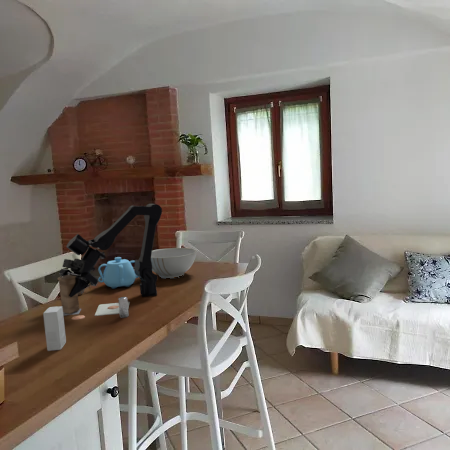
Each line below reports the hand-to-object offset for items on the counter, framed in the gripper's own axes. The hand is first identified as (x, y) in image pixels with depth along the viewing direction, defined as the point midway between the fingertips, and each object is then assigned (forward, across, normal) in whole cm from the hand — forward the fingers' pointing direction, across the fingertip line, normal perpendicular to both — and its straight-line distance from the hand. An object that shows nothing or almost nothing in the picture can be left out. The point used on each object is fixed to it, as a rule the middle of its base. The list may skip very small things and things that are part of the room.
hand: (66, 295), depth 170 cm
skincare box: (+20, +28, -10) cm, 36 cm away
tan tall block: (+4, 0, +6) cm, 7 cm away
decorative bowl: (-40, -8, +51) cm, 66 cm away
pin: (-1, +23, +11) cm, 26 cm away
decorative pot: (-22, -17, +33) cm, 43 cm away
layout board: (0, +8, +10) cm, 13 cm away
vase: (-8, -22, +18) cm, 30 cm away
